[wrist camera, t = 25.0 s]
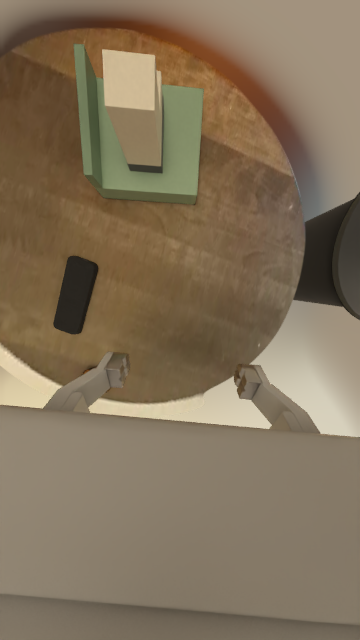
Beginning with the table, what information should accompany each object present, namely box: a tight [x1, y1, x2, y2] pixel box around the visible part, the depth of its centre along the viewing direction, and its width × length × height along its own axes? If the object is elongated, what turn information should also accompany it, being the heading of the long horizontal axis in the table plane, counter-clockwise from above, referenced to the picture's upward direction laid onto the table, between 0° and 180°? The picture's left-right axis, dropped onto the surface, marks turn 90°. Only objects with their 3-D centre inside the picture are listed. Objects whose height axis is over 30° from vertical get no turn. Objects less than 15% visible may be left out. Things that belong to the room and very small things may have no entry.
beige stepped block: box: [102, 49, 164, 173], centre depth 19 cm, size 8×5×9 cm, turn 177°
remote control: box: [53, 256, 98, 334], centre depth 30 cm, size 5×2×15 cm
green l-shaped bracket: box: [74, 44, 204, 204], centre depth 23 cm, size 16×13×6 cm
